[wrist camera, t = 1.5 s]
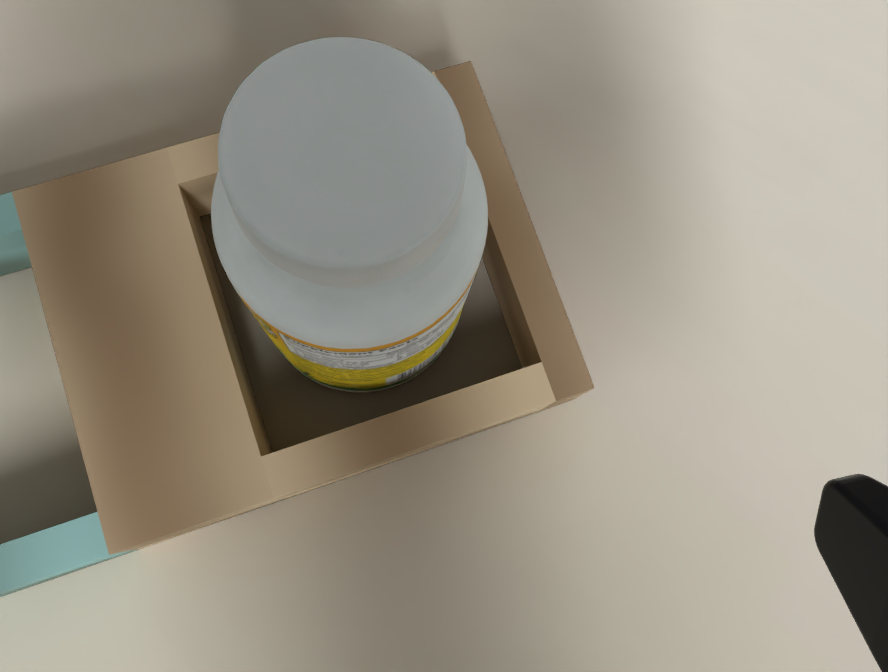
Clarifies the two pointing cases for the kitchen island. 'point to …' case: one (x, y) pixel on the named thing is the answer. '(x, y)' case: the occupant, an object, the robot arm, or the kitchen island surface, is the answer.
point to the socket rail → (229, 350)
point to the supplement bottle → (349, 210)
